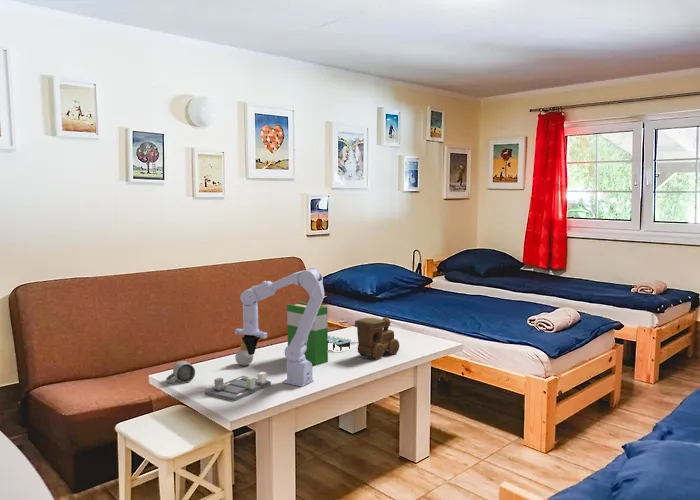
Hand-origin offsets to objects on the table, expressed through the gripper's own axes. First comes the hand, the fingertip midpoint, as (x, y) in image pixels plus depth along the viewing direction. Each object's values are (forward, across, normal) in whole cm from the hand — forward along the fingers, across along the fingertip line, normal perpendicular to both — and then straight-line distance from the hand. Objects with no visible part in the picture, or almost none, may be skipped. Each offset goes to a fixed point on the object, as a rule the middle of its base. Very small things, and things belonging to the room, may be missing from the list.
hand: (251, 354), depth 216 cm
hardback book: (+10, -4, -32) cm, 34 cm away
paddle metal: (+8, 0, +18) cm, 20 cm away
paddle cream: (+8, -9, +5) cm, 13 cm away
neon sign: (+11, -3, -64) cm, 65 cm away
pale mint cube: (+8, -10, +11) cm, 17 cm away
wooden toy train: (+10, -27, -54) cm, 61 cm away
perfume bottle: (+10, +15, -14) cm, 23 cm away
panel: (+10, -4, +12) cm, 16 cm away
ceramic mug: (+10, +23, +15) cm, 29 cm away
